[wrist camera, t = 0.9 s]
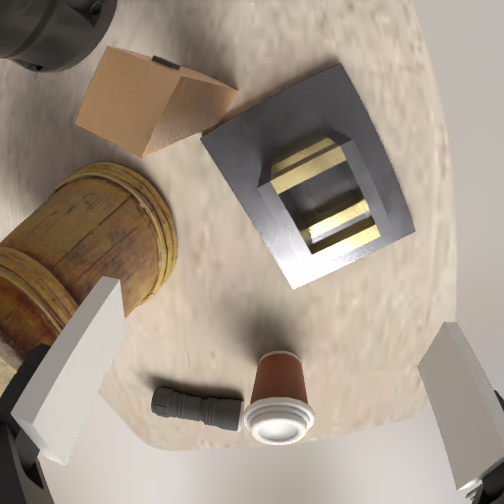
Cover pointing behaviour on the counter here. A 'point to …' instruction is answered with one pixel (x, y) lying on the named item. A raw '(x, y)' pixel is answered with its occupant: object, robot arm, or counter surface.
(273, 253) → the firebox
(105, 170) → the tankard
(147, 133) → the tapered wooden post
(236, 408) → the flashlight
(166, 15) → the counter surface
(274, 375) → the coffee cup
